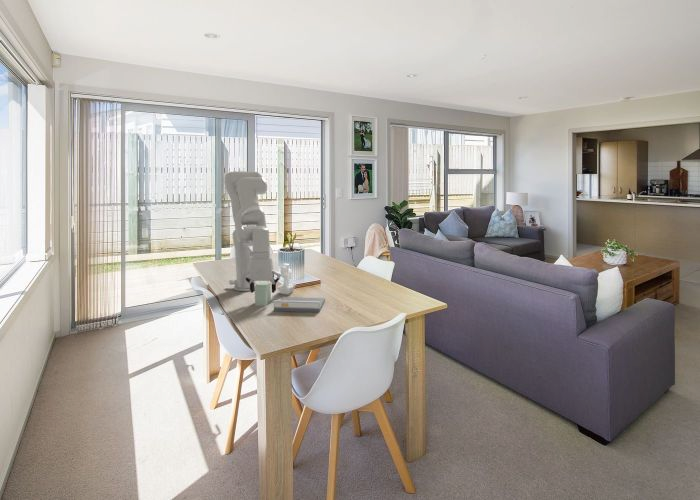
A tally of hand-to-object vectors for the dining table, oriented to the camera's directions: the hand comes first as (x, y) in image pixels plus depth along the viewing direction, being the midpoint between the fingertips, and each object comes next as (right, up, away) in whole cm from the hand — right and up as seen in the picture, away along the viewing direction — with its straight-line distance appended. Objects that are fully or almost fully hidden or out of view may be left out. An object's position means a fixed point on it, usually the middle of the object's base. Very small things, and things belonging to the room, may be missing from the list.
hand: (263, 292), depth 190 cm
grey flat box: (+17, -6, -3) cm, 19 cm away
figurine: (+8, -3, +18) cm, 20 cm away
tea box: (0, -5, +2) cm, 5 cm away
